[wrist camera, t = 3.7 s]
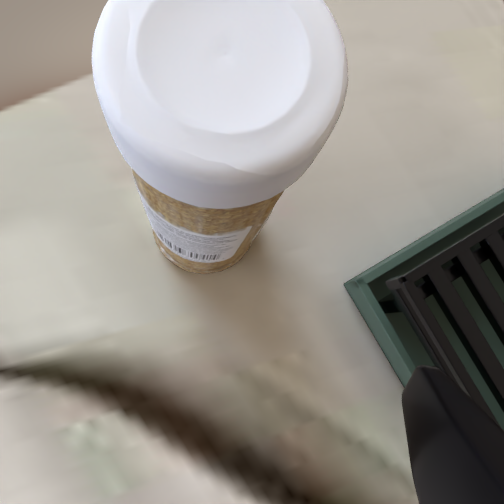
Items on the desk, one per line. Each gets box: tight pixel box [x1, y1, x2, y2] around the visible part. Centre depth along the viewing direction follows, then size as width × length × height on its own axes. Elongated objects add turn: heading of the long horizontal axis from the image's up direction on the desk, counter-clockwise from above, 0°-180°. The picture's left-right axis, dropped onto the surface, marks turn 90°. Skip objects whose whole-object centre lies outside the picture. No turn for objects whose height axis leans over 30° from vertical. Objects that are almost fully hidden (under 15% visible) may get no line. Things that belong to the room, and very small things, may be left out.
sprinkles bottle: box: [92, 0, 348, 274], centre depth 15 cm, size 5×5×14 cm
